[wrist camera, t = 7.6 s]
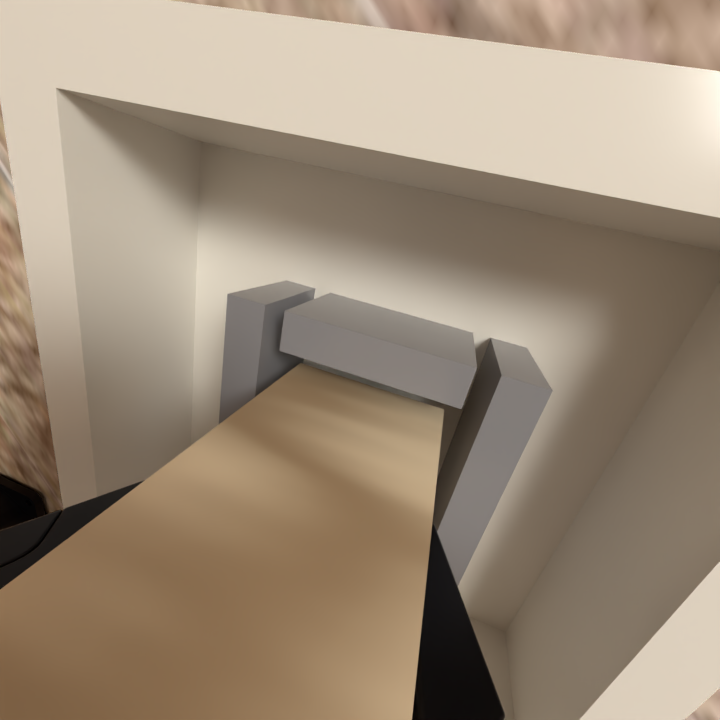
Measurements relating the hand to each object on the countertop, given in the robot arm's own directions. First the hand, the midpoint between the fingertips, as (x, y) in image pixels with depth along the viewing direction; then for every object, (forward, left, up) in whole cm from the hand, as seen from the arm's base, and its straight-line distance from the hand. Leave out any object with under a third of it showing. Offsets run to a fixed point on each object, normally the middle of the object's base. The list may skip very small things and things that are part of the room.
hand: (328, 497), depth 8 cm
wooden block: (0, 0, -2) cm, 2 cm away
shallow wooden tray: (0, 0, -5) cm, 5 cm away
